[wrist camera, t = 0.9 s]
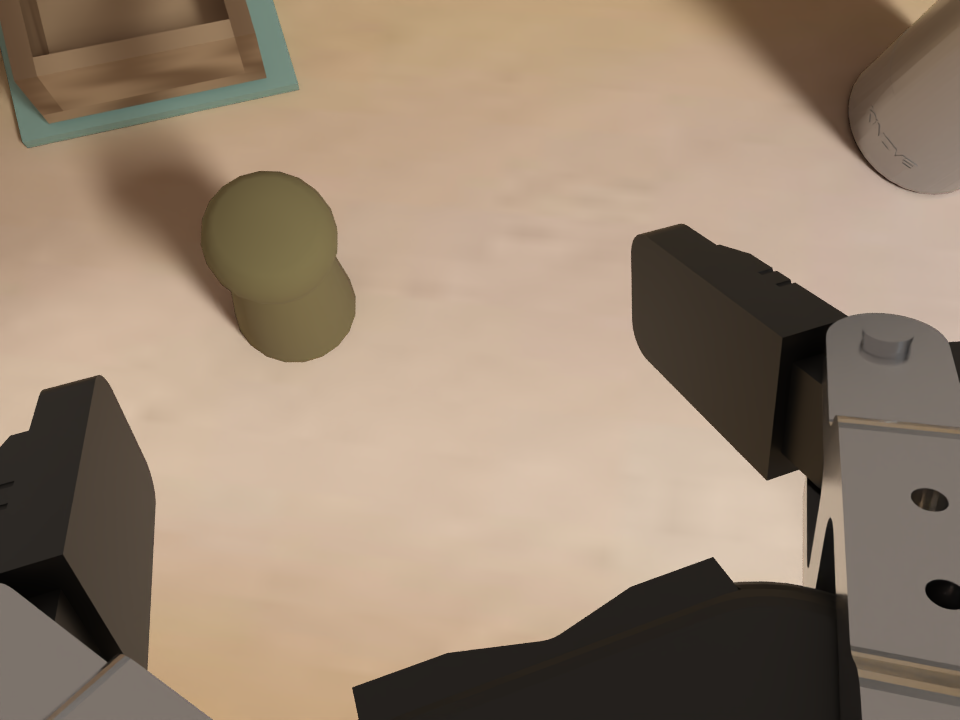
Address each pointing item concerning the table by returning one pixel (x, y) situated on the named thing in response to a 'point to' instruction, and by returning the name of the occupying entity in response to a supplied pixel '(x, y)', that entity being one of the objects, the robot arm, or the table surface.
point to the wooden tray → (125, 51)
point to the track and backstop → (276, 82)
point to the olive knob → (279, 265)
